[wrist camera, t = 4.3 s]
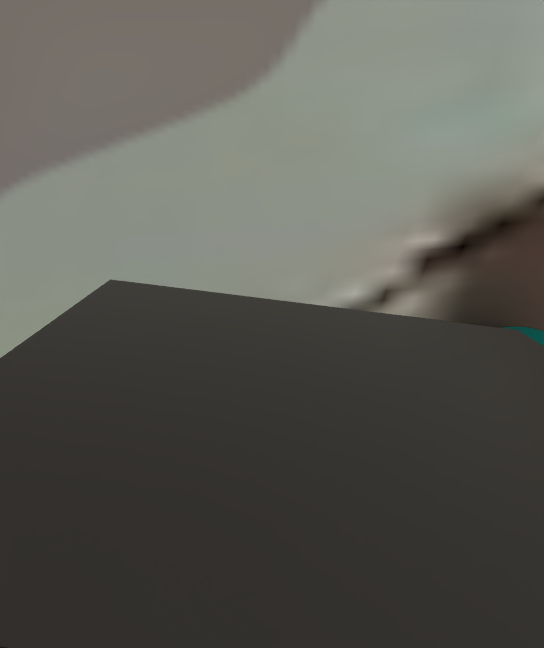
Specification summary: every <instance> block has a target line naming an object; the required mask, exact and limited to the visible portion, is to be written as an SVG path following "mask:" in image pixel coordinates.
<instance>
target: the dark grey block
mask: <svg viewBox="0 0 544 648" xmlns="http://www.w3.org/2000/svg"><path fill="white" fill-rule="evenodd" d="M0 648H544V346H543V345H542V344H540V343H538V342H537V341H535V340H533V339H532V338H530V337H529V336H527V335H525V334H524V333H522V332H521V331H519V330H515V329H507V328H498V327H490V326H482V325H474V324H466V323H458V322H450V321H442V320H434V319H426V318H417V317H409V316H401V315H393V314H385V313H377V312H369V311H361V310H353V309H345V308H336V307H328V306H320V305H312V304H304V303H296V302H288V301H280V300H272V299H264V298H255V297H247V296H239V295H231V294H223V293H215V292H207V291H199V290H191V289H183V288H174V287H166V286H158V285H150V284H142V283H134V282H126V281H118V280H109V281H108V282H106V283H105V284H104V285H102V286H101V287H99V288H98V289H97V290H95V291H94V292H92V293H91V294H90V295H88V296H87V297H85V298H84V299H83V300H81V301H80V302H78V303H77V304H76V305H74V306H73V307H71V308H70V309H69V310H67V311H66V312H64V313H63V314H62V315H60V316H59V317H57V318H56V319H55V320H53V321H52V322H50V323H49V324H48V325H46V326H45V327H43V328H42V329H41V330H39V331H38V332H36V333H35V334H34V335H32V336H31V337H29V338H28V339H27V340H25V341H24V342H22V343H21V344H20V345H18V346H17V347H15V348H14V349H13V350H11V351H10V352H8V353H7V354H6V355H4V356H3V357H1V358H0Z"/></svg>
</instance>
